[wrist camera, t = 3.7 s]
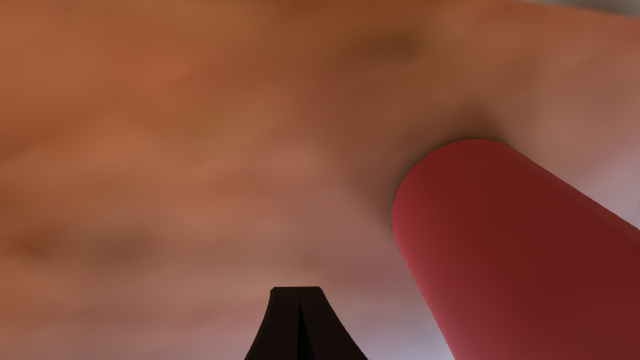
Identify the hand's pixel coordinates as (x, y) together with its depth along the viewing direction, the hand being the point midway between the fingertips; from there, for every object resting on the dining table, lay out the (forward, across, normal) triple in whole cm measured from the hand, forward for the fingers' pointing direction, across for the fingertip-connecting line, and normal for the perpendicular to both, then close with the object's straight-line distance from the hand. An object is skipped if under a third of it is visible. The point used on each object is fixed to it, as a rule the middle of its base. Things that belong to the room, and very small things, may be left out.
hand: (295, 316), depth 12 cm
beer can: (+8, -8, 0) cm, 11 cm away
